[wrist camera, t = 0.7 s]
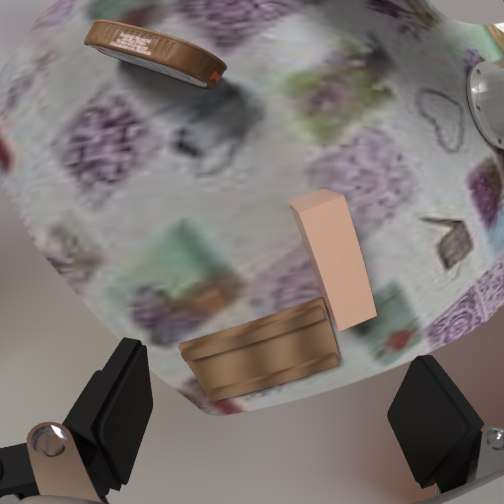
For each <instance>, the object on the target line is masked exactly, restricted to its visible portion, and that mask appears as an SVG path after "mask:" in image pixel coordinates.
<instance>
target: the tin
mask: <svg viewBox="0 0 504 504" xmlns="http://www.w3.org/2000/svg"><path fill="white" fill-rule="evenodd" d="M84 44H85V45H89V46H91V47H93V48H95V49H97V50H98V51H100V52H101V53H103V54H106V55H108V56H111V57H114V58H117V59H120V60H123V61H126V62H129V63H132V64H135V65H138V66H141V67H144V68H147V69H149V70H152V71H155V72H158V73H161V74H164V75H166V76H169V77H172V78H175V79H178V80H180V81H183V82H186V83H189V84H192V85H195V86H198V87H201V88H204V89H213V88H214V87H215V86H216V84H217V83H218V81H219V79H220V77H221V76H222V74H223V72H224V71H225V70H226V69H227V66H226V64H225V63H224V62H223V61H222V60H220V59H219V58H218V57H216V56H215V55H213V54H212V53H210V52H208V51H207V50H205V49H203V48H201V47H199V46H197V45H194V44H192V43H190V42H187V41H185V40H182V39H179V38H176V37H173V36H169V35H166V34H163V33H159V32H156V31H152V30H148V29H144V28H140V27H136V26H132V25H128V24H123V23H118V22H114V21H109V20H95V21H94V22H93V26H92V27H91V29H90V31H89V33H88V35H87V36H86V39H85V41H84Z"/></svg>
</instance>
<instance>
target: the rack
mask: <svg viewBox="0 0 504 504" xmlns="http://www.w3.org/2000/svg"><path fill="white" fill-rule="evenodd" d="M178 348H179V350H180V352H181V355H182V357H183V359H184V360H185V362H187V363H188V365H189V367H190V368H191V370H192V371H193V373H194V375H195V376H196V378H197V379H198V381H199V383H200V384H201V386H202V387H203V389H204V390H205V392H206V393H207V397H208V398H209V400H210V401H216V400H221V399H225V398H229V397H234V396H238V395H242V394H246V393H250V392H253V391H257V390H261V389H265V388H268V387H272V386H275V385H279V384H282V383H285V382H289V381H292V380H295V379H298V378H301V377H305V376H308V375H311V374H314V373H317V372H320V371H322V370H325V369H328V368H331V367H334V366H336V365H338V361H337V360H340V356H339V352H338V349H337V345H336V342H335V338H334V335H333V331H332V328H331V324H330V321H329V318H328V314H327V311H326V308H325V304H324V301H323V299H322V297H321V298H318V299H315V300H312V301H310V302H307V303H304V304H301V305H299V306H296V307H293V308H290V309H287V310H284V311H281V312H278V313H276V314H273V315H270V316H267V317H264V318H261V319H258V320H255V321H251V322H248V323H245V324H242V325H239V326H236V327H233V328H229V329H226V330H223V331H220V332H216V333H213V334H210V335H206V336H203V337H200V338H196V339H193V340H189V341H186V342H182V343H180V344H179V347H178Z"/></svg>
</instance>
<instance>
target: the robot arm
mask: <svg viewBox="0 0 504 504" xmlns="http://www.w3.org/2000/svg"><path fill="white" fill-rule="evenodd" d="M467 96H468V101H469V106H470V109H471V113H472V115H473V118H474V120H475V122H476V124H477V126H478V128H479V130H480V131H481V133H482V134H483V136H484V137H485V138H486V139H487V141H488V142H489V143H491V144H492V145H493V146H495V147H497V148H499V149H503V150H504V68H503V69H502V68H500V67H499V66H497V65H496V64H494V63H491V62H486V61H485V62H480V63H478V64H475V65H474V66H473V67H472V68H471V70H470V72H469V75H468V78H467ZM152 408H153V398H152V390H151V383H150V375H149V366H148V356H147V347H146V346H145V345H142V343H141V341H140V340H136V339H131V338H123V339H122V340H121V342H120V343H119V345H118V346H117V348H116V349H115V351H114V352H113V354H112V356H111V357H110V359H109V360H108V362H107V363H106V365H105V367H104V368H103V370H102V371H101V370H98V371H96V372H95V373H94V374H93V376H92V377H91V379H90V380H89V382H88V384H87V385H86V387H85V388H84V390H83V391H82V393H81V394H80V396H79V398H78V399H77V401H76V402H75V404H74V406H73V407H72V409H71V410H70V412H69V414H68V415H67V417H66V419H65V420H64V422H63V424H62V425H61V424H59V423H55V422H43V423H40V424H38V425H36V426H34V427H33V428H32V429H31V430H30V432H29V433H28V436H27V443H23V444H18V445H14V446H9V447H4V448H0V504H109V502H108V500H107V498H106V496H105V495H107V494H108V493H109V490H110V488H111V489H114V490H117V491H120V488H121V485H122V484H124V485H126V484H127V483H128V480H129V477H130V474H131V471H132V468H133V465H134V462H135V459H136V456H137V453H138V450H139V447H140V444H141V441H142V438H143V435H144V433H145V430H146V426H147V424H148V421H149V418H150V415H151V412H152ZM387 415H388V420H389V422H390V424H391V427H392V429H393V431H394V433H395V435H396V438H397V440H398V442H399V444H400V446H401V449H402V451H403V453H404V455H405V458H406V460H407V462H408V465H409V467H410V469H411V472H412V474H413V476H414V479H415V481H416V482H418V483H419V484H420V486H421V488H422V489H423V488H426V487H429V486H432V485H434V484H435V483H437V489H436V492H435V494H434V497H431V498H428V499H425V500H423V501H419V502H416V503H413V504H504V430H503V429H502V428H500V427H496V426H489V427H487V428H486V429H485V430H484V431H483V432H481V430H480V429H481V428H482V426H483V425H484V422H483V421H482V420H481V418H480V417H479V415H478V414H477V413H476V411H475V410H474V409H473V407H472V406H471V405H470V403H469V402H468V401H467V399H466V398H465V397H464V395H463V394H462V393H461V392H460V390H459V389H458V387H457V386H456V385H455V384H454V382H453V381H452V380H451V378H450V377H449V376H448V375H447V373H446V372H445V371H444V370H443V368H442V367H441V366H440V365H439V363H438V362H437V361H436V360H435V358H434V357H433V356H432V355H423V356H417V357H416V358H415V360H413V361H412V362H411V364H410V366H409V369H408V371H407V373H406V376H405V377H404V380H403V382H402V384H401V386H400V388H399V390H398V392H397V394H396V396H395V398H394V401H393V402H392V404H391V406H390V408H389V410H388V414H387Z"/></svg>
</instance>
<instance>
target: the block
mask: <svg viewBox="0 0 504 504" xmlns="http://www.w3.org/2000/svg"><path fill="white" fill-rule="evenodd" d="M289 205H290V207H291V210H292V213H293V215H294V218H295V221H296V223H297V226H298V229H299V231H300V234H301V237H302V240H303V242H304V245H305V248H306V251H307V253H308V256H309V259H310V262H311V265H312V268H313V270H314V273H315V276H316V279H317V282H318V285H319V288H320V291H321V294H322V297H323V300H324V302H325V304H326V306H327V308H328V310H329V312H330V314H331V316H332V318H333V320H334V322H335V324H336V326H337V329H338V331H342V330H344V329H347V328H349V327H351V326H354V325H356V324H359V323H361V322H363V321H366V320H368V319H370V318H373V317H375V316H377V314H376V310H375V305H374V301H373V297H372V292H371V288H370V284H369V280H368V276H367V272H366V268H365V265H364V261H363V257H362V254H361V250H360V247H359V243H358V240H357V236H356V233H355V229H354V226H353V223H352V220H351V216H350V213H349V210H348V207H347V204H346V201H345V198H344V195H341V194H338V193H335V192H333V191H330V190H327V189H321V190H319V191H316V192H313V193H311V194H308V195H305V196H303V197H300V198H298V199H295V200H292V201H290V202H289Z"/></svg>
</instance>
